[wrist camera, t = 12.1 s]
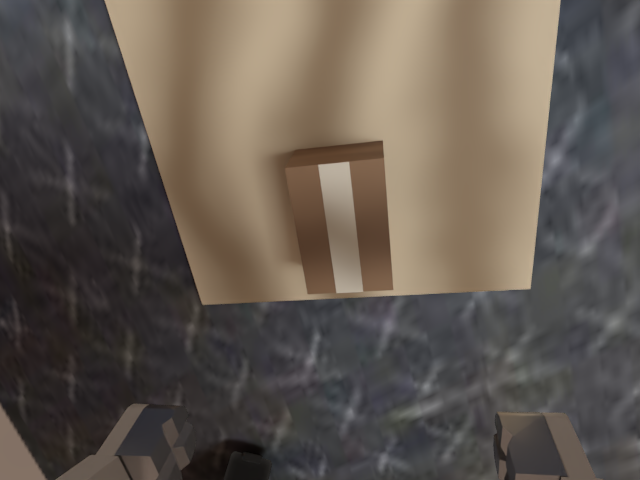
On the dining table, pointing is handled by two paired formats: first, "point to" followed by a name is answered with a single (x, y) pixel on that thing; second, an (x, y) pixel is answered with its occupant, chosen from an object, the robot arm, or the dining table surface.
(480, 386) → the dining table surface
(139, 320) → the dining table surface
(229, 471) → the dark grey curved slab
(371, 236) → the brown small block
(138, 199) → the dining table surface
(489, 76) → the cork mat
